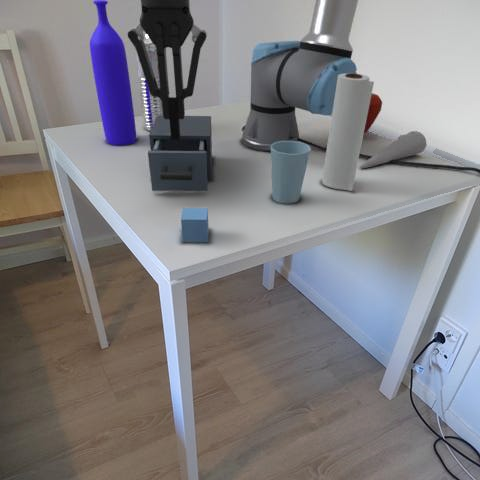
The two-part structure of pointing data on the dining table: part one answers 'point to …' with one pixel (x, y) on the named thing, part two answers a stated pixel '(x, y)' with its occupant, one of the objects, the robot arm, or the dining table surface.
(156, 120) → the cabinet
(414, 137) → the long tapered cone
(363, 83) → the paper towel roll
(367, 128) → the apple
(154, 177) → the drawer
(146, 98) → the water bottle
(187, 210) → the steel blue cube
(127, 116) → the bottle
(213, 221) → the dining table surface
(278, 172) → the cup
